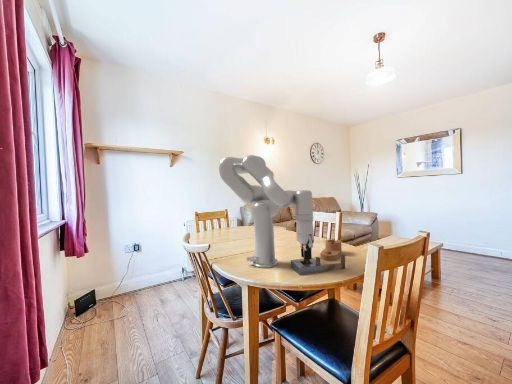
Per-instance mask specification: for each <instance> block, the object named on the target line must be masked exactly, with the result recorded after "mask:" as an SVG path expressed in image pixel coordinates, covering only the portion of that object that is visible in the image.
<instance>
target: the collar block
mask: <svg viewBox="0 0 512 384" xmlns="http://www.w3.org/2000/svg"><path fill="white" fill-rule="evenodd" d="M323 265H324V264H322V263H321V265H316V258H313V257H312V259H310V264H304V258H298V259H290V268H291V269H292V270H294V272H296V273H297V274H298V275H299V276H301V275H309V274H310V275H311V274H319V273H324V271H323Z"/></svg>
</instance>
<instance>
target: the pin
mask: <svg viewBox="0 0 512 384" xmlns="http://www.w3.org/2000/svg"><path fill="white" fill-rule="evenodd" d="M307 243H309V242H307ZM307 246H308V245H307ZM304 251H305V245H304V244H303V256H304ZM303 259H304V258H303ZM304 264H310V259H307V260H305V259H304Z"/></svg>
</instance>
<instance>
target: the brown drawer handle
mask: <svg viewBox="0 0 512 384" xmlns="http://www.w3.org/2000/svg"><path fill="white" fill-rule="evenodd" d="M339 258H340V262H337V263H335V262H334V263H329V264H322V263H321V256H316V257H315V260H316V265H321V264H322V265H323V272H327V271H329V272H330V271H335V270H346V268H347V267H346V254H341V255H340V257H339Z"/></svg>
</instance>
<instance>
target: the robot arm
mask: <svg viewBox="0 0 512 384" xmlns="http://www.w3.org/2000/svg"><path fill="white" fill-rule="evenodd" d="M266 163H267V162H266V161H265V159H264V158H262V157H261V156H258V155H253V154H250V155H246V156H245V157H243V158H241V157H233V156H228V157H227V156H226V157H223V158H222V159H221V160H220V162H219V163H218V164H219V165H218V172H219V176H220V179H221V180H222V181H223V182H224V184H226V186H228V187H229V188H230V190H232V191H233V193H235V195H236V196H237V197H238V198H239V199H240V200H241V201H242V202H243V203H245V204H246V205H252V207H251V215H252V220H253V226H254V228H253V229H254V230H253V232H254V248H255V250H254V251H255V253H254V255H252V256H246V257H245V258H246V259H245V260H246V262H250V263H252V265H253V266H254V267H256V268H261V269H262V268H273V267H276V266H278V264H279V260H278V259H277V258H276V255H275V254H276V253H275V252H276V251H275V232H274V231H275V230H274V222H273V217H275V216H277V215H278V214H279V212H280V208H281V209H282V208H283V209H285V208H289V207H294V206H295V218H296V219H295V221H296V228H295V229H296V232H295V233H296V234H295V235H296V241H297V242H299V245H300V253H301V254H300V255H301V256H300V257H301V258H303V259H305V260H307V259H312V258H313V255H312V254H313V253H312V248H313V247H314V243H315V232H314V224H313V222H314V211H313V209H314V207H313V192H312V191H311V190H307V189H306V190H304V189H303V190H291V189H290V190H285V189H284V188H282V187H281V186H280V185H279V184H278V183H277V182H276V180H275V179H274V177H275V175H274V172H273V171H272V170H271V169H270V168H269V167H268V166H267V165H266ZM240 174H249V175H250V176H251V177H252V178H253V179H254V180H255V181H256V182H257V183H258V184H259V185H254V184H253V185H252V184H250V183H249V182H248V181H247V180H246V179H245V178H244V177H243V176H241V175H240ZM307 242H309V243H307ZM303 244H304V245H305V251H304V256H303ZM307 245H308V246H307Z"/></svg>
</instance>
